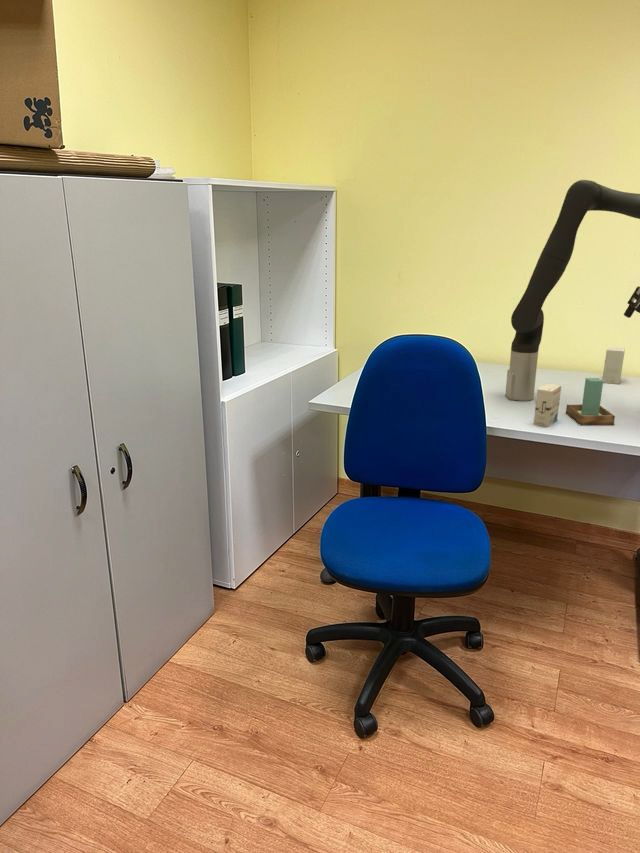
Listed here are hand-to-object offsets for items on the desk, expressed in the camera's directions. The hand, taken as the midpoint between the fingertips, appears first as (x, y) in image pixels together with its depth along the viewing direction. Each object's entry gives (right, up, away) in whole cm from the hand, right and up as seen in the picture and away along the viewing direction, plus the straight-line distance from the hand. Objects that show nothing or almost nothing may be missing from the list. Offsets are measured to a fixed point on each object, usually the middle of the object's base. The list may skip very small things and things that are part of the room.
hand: (632, 314), depth 205 cm
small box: (+15, -18, +47) cm, 53 cm away
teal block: (-13, -32, +2) cm, 35 cm away
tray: (-13, -33, +3) cm, 36 cm away
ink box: (-28, -35, 0) cm, 45 cm away
